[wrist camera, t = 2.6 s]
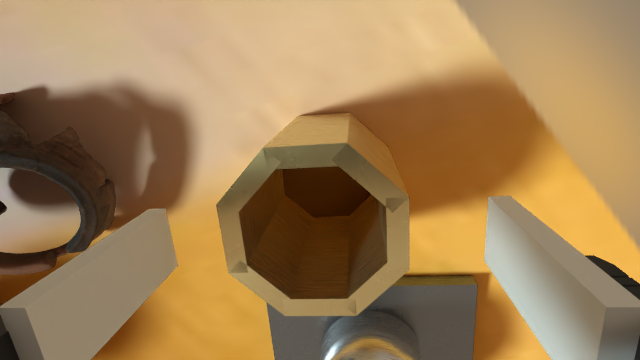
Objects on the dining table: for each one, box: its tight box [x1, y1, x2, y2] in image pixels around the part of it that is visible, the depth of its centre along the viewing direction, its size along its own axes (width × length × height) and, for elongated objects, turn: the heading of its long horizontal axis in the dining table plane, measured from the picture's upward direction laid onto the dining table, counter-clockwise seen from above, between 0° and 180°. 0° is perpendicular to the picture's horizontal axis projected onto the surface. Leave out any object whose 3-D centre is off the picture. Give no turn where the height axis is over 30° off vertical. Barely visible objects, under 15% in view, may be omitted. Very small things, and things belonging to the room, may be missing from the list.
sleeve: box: [216, 113, 409, 316], centre depth 17 cm, size 7×7×8 cm
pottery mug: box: [0, 93, 116, 275], centre depth 20 cm, size 12×10×8 cm
